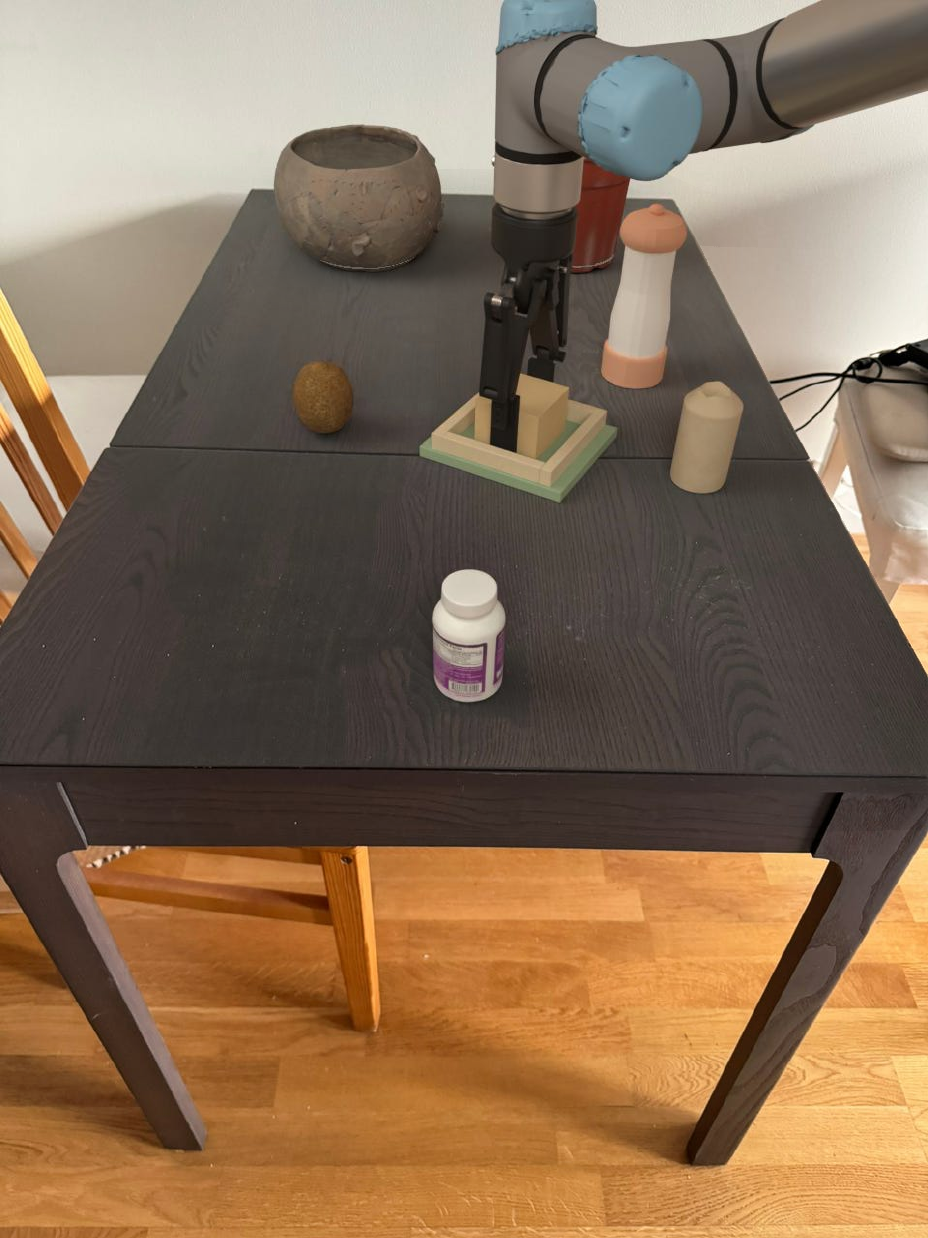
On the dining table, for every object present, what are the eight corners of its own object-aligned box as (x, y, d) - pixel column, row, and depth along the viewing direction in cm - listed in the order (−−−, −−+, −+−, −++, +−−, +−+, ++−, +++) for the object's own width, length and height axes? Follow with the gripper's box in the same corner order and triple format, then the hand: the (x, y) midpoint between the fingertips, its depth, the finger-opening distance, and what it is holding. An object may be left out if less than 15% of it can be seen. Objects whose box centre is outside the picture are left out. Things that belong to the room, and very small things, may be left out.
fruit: (342, 451, 96) (336, 381, 90) (287, 441, 97) (278, 371, 92) (364, 421, 100) (360, 352, 95) (311, 412, 102) (304, 343, 96)
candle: (729, 494, 91) (752, 404, 84) (673, 493, 91) (692, 402, 84) (719, 463, 95) (740, 374, 88) (665, 462, 95) (682, 373, 88)
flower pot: (555, 289, 126) (566, 163, 115) (492, 248, 137) (497, 129, 126) (651, 266, 133) (669, 145, 122) (584, 229, 143) (595, 114, 132)
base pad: (616, 437, 99) (620, 412, 97) (559, 503, 90) (562, 477, 88) (485, 397, 104) (485, 373, 102) (419, 456, 95) (418, 430, 93)
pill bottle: (468, 645, 75) (470, 552, 68) (516, 680, 72) (523, 586, 66) (418, 679, 72) (416, 585, 66) (466, 716, 69) (469, 622, 63)
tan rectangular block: (564, 430, 97) (569, 387, 94) (534, 461, 93) (538, 417, 89) (506, 412, 100) (508, 369, 96) (474, 441, 95) (475, 398, 92)
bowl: (257, 276, 128) (241, 160, 118) (312, 218, 144) (302, 112, 134) (418, 294, 125) (416, 175, 114) (457, 232, 141) (458, 124, 131)
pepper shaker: (675, 379, 108) (707, 209, 95) (626, 394, 105) (652, 221, 92) (636, 353, 113) (661, 188, 100) (588, 367, 110) (607, 199, 97)
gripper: (547, 166, 88) (531, 385, 104) (439, 231, 75) (440, 469, 91) (620, 180, 86) (593, 402, 101) (521, 250, 73) (507, 492, 88)
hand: (520, 434), depth 96 cm, fingers closed on tan rectangular block, 7 cm apart
